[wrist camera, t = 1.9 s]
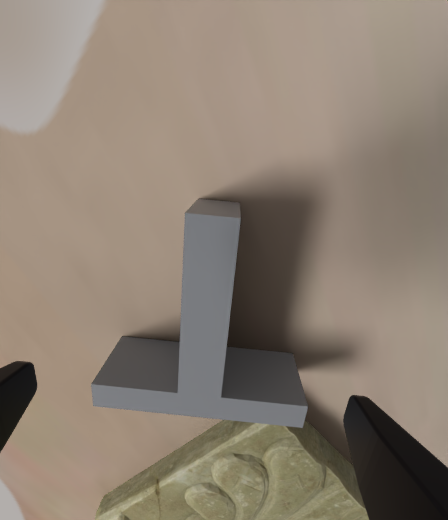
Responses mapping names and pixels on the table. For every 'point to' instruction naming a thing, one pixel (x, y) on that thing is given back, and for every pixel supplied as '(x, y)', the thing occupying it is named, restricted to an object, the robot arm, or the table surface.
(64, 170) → the table surface
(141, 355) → the grey piece
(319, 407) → the table surface
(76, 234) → the table surface
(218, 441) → the decorative tile
